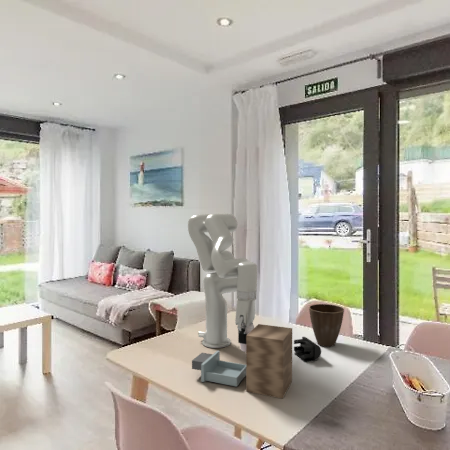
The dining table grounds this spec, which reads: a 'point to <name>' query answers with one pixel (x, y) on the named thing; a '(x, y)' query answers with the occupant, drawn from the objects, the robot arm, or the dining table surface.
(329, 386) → the dining table surface
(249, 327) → the smoothie
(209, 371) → the tray
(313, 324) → the plant pot
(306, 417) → the dining table surface
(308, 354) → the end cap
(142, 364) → the dining table surface
